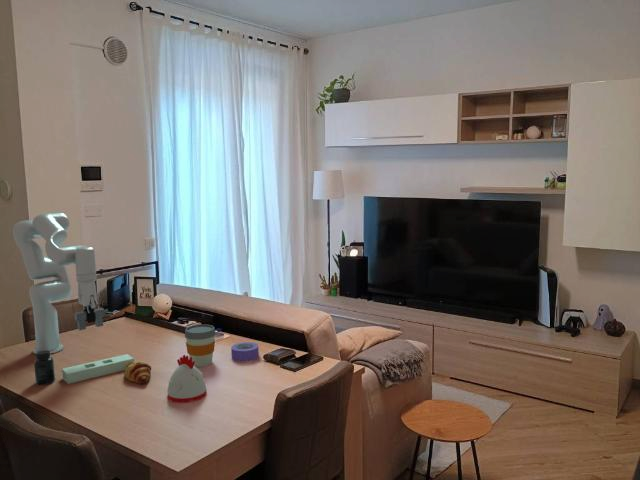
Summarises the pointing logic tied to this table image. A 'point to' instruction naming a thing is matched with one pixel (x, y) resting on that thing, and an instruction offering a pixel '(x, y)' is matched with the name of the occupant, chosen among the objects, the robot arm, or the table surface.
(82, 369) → the rail
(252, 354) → the tape roll
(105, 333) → the table surface
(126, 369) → the croissant
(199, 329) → the reusable coffee cup
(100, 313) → the clip
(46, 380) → the supplement bottle
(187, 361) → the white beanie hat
